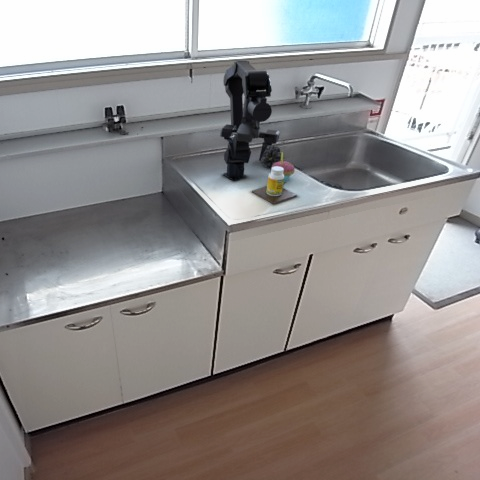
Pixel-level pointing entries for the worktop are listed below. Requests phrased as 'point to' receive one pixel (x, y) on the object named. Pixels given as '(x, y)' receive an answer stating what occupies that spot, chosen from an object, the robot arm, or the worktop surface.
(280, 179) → the supplement bottle
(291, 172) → the cupcake
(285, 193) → the plate
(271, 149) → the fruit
